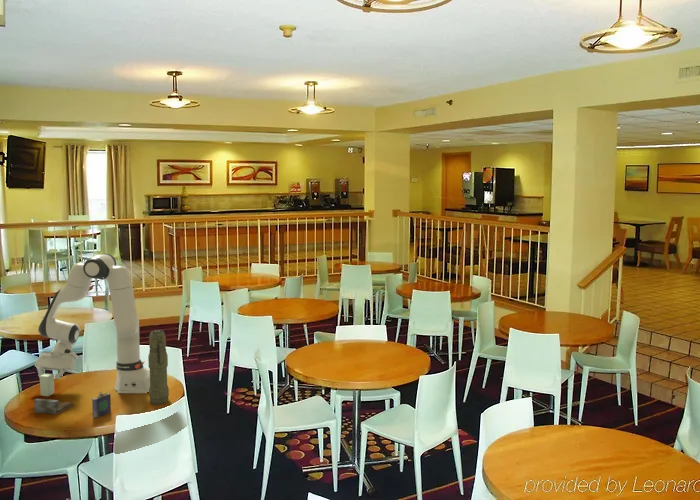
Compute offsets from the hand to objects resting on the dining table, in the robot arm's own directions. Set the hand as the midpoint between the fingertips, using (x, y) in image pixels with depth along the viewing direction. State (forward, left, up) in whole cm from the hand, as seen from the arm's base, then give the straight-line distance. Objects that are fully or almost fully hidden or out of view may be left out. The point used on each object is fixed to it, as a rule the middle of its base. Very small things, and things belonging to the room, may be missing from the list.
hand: (48, 377), depth 294 cm
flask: (-42, +19, -9) cm, 47 cm away
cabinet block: (0, +1, -8) cm, 8 cm away
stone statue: (-59, -2, -8) cm, 60 cm away
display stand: (-16, +18, -8) cm, 26 cm away
